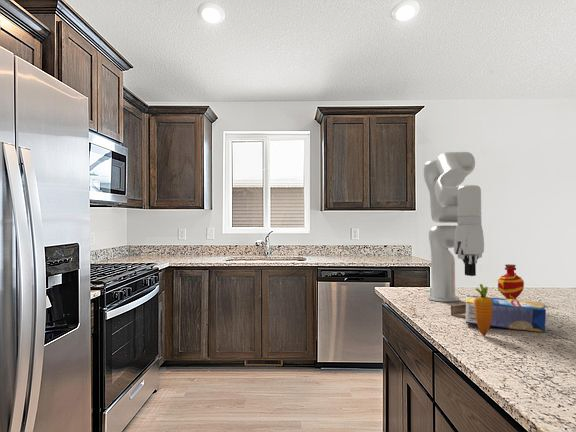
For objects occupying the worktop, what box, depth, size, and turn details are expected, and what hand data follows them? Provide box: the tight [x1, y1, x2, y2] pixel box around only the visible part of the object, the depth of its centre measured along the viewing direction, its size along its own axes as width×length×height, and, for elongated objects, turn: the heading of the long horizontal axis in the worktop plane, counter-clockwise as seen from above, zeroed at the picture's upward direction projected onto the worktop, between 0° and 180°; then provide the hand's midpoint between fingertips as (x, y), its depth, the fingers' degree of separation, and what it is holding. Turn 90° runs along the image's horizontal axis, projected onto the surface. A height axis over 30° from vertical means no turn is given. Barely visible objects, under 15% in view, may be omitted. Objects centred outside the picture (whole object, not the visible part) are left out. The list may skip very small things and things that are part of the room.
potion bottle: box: [497, 263, 525, 300], centre depth 184 cm, size 10×10×15 cm
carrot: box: [474, 283, 493, 337], centre depth 128 cm, size 5×5×15 cm
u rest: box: [450, 302, 466, 320], centre depth 153 cm, size 17×16×4 cm
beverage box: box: [465, 294, 547, 334], centre depth 140 cm, size 7×11×22 cm
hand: (470, 275), depth 149 cm, fingers closed
